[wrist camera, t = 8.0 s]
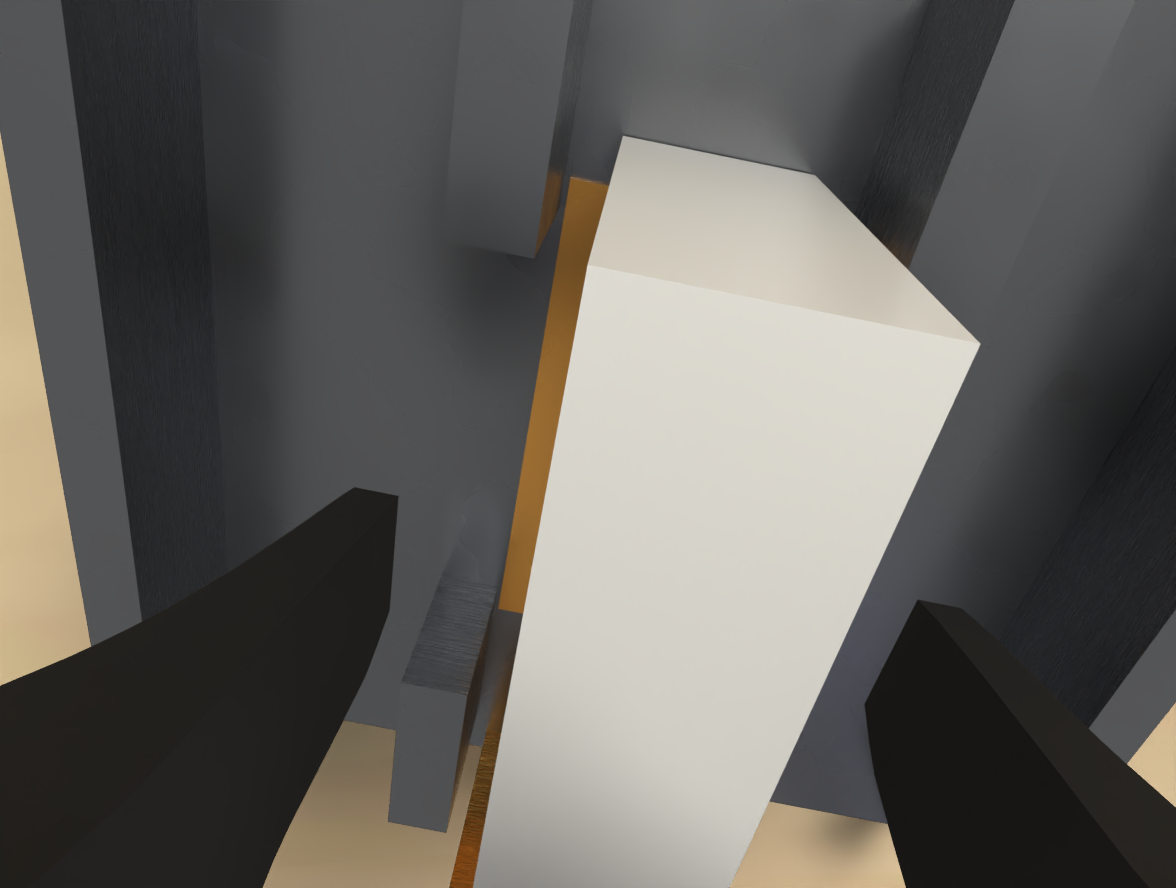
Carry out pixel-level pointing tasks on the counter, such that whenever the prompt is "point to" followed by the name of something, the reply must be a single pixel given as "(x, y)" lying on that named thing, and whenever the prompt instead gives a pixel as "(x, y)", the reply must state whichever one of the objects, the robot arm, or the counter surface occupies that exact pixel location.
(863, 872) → the counter surface
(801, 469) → the white rectangular block
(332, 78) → the rack
